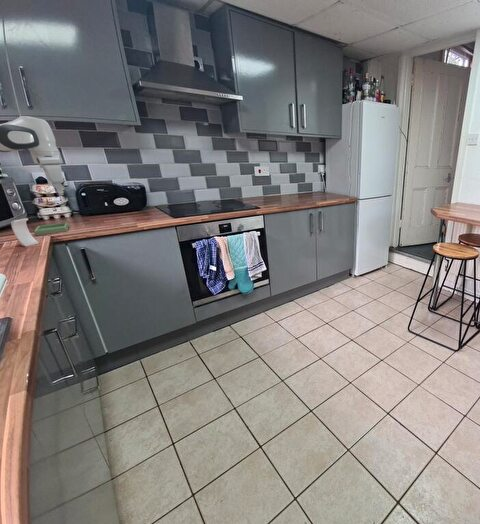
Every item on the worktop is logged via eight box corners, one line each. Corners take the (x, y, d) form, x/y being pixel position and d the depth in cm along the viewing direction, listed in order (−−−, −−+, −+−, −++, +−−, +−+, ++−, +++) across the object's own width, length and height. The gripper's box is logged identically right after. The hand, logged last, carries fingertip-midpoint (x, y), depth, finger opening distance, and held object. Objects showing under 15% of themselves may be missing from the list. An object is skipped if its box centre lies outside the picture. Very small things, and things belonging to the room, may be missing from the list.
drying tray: (35, 235, 145) (33, 231, 144) (39, 229, 153) (37, 225, 152) (66, 231, 151) (65, 227, 151) (68, 225, 160) (67, 222, 159)
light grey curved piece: (25, 246, 131) (13, 220, 126) (19, 244, 133) (7, 219, 128) (39, 243, 134) (27, 218, 130) (33, 241, 137) (21, 216, 132)
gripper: (35, 159, 127) (47, 191, 132) (39, 159, 114) (52, 195, 119) (55, 158, 132) (65, 190, 136) (60, 159, 119) (72, 193, 124)
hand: (59, 192), depth 128 cm, fingers open, 8 cm apart
